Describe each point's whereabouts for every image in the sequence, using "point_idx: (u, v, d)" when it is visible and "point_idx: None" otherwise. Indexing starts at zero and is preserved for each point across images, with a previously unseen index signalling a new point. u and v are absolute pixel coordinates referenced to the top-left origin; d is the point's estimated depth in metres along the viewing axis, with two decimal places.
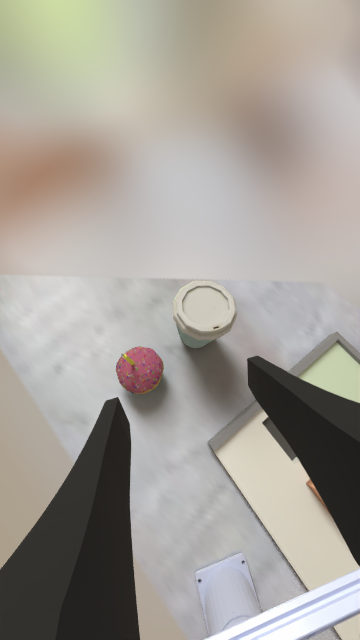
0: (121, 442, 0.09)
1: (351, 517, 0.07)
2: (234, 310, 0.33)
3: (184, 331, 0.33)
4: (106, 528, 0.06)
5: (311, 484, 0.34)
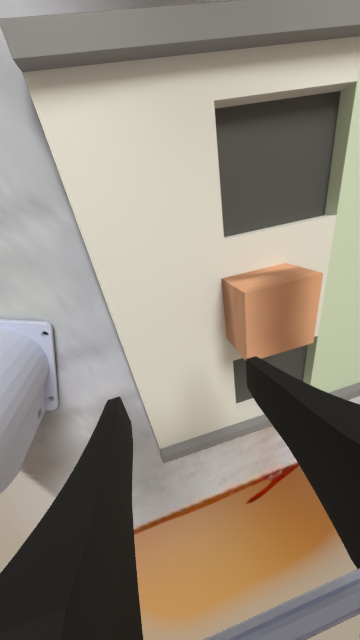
0: (123, 441, 0.09)
1: (349, 518, 0.07)
2: None
3: None
4: (109, 527, 0.06)
5: (231, 281, 0.17)
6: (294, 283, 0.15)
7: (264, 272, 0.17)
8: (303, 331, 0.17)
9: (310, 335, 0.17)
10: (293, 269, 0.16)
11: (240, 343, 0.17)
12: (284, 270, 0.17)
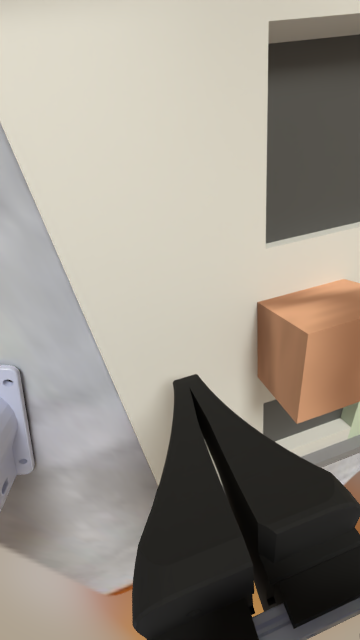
0: None
1: (251, 559, 0.06)
2: None
3: None
4: None
5: (275, 308, 0.11)
6: None
7: (321, 295, 0.12)
8: None
9: None
10: None
11: (286, 395, 0.12)
12: (350, 292, 0.12)
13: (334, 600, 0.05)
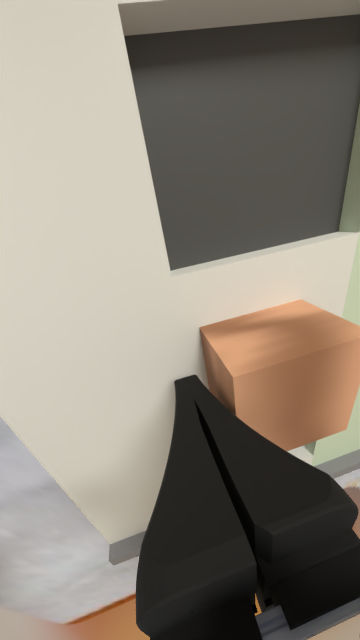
0: None
1: None
2: None
3: None
4: None
5: (213, 337, 0.10)
6: (324, 353, 0.08)
7: (268, 321, 0.10)
8: (332, 417, 0.10)
9: (343, 421, 0.11)
10: (316, 318, 0.10)
11: None
12: (301, 318, 0.10)
13: (331, 601, 0.04)
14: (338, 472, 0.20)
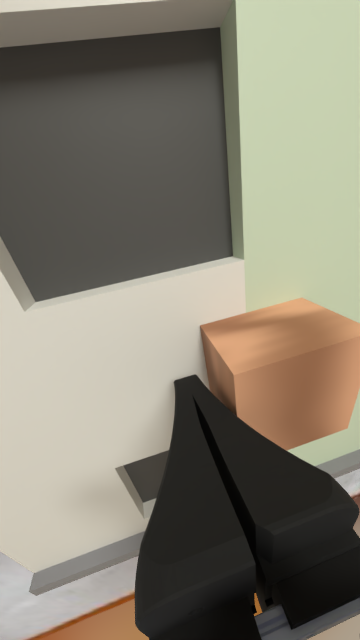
0: None
1: None
2: None
3: None
4: None
5: (213, 335, 0.10)
6: (325, 351, 0.08)
7: (269, 319, 0.10)
8: (334, 416, 0.10)
9: (344, 420, 0.11)
10: (317, 316, 0.10)
11: None
12: (302, 316, 0.10)
13: (332, 601, 0.04)
14: None
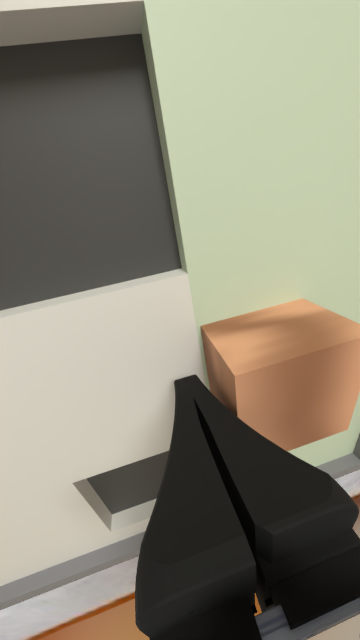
0: None
1: None
2: None
3: None
4: None
5: (214, 336, 0.10)
6: (327, 352, 0.08)
7: (270, 320, 0.10)
8: (334, 417, 0.10)
9: (344, 421, 0.10)
10: (318, 317, 0.10)
11: None
12: (303, 317, 0.10)
13: (332, 601, 0.04)
14: None
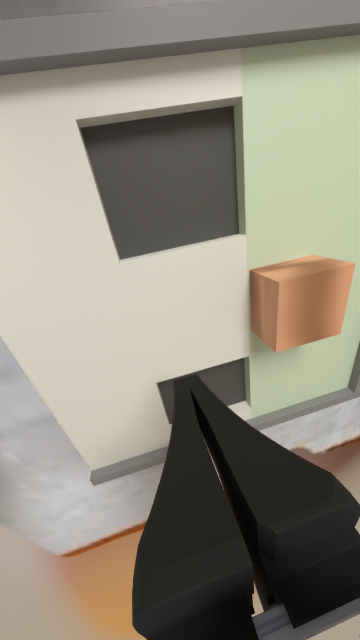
0: None
1: (251, 559, 0.06)
2: None
3: None
4: None
5: (261, 272, 0.17)
6: (327, 273, 0.15)
7: (293, 264, 0.17)
8: (332, 322, 0.17)
9: (338, 326, 0.17)
10: (322, 260, 0.17)
11: (269, 333, 0.17)
12: (313, 261, 0.17)
13: (334, 600, 0.05)
14: (271, 421, 0.26)
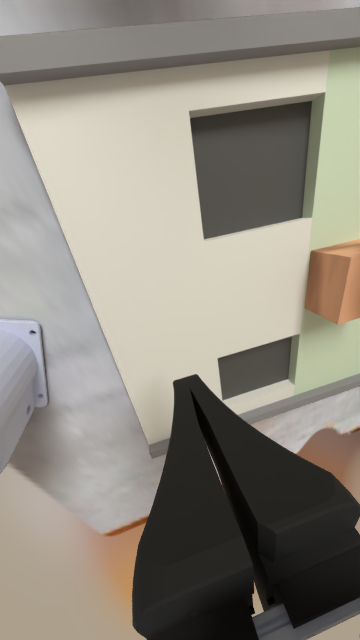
0: None
1: (251, 559, 0.06)
2: None
3: None
4: None
5: (324, 251, 0.19)
6: None
7: (352, 244, 0.19)
8: None
9: None
10: None
11: (330, 308, 0.19)
12: None
13: (334, 600, 0.05)
14: (313, 398, 0.28)
